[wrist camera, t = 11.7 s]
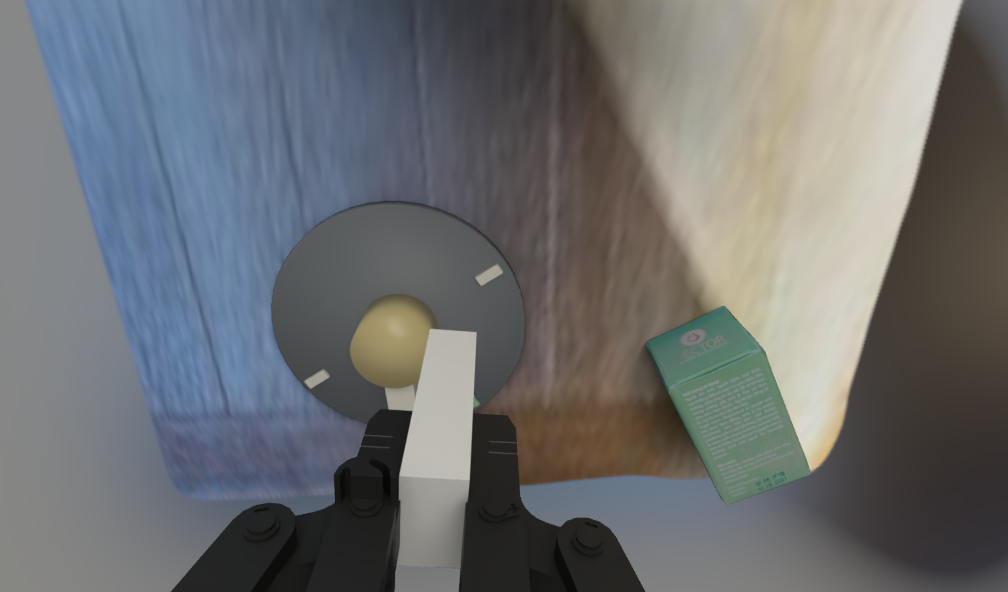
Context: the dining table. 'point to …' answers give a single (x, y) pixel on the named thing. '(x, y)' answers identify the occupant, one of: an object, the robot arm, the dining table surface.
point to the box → (729, 405)
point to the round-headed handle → (393, 346)
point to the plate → (392, 270)
